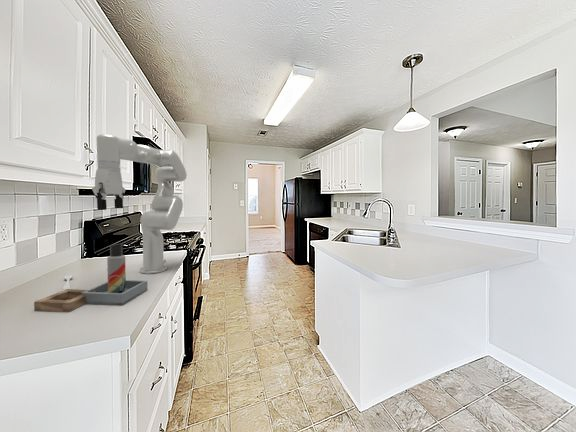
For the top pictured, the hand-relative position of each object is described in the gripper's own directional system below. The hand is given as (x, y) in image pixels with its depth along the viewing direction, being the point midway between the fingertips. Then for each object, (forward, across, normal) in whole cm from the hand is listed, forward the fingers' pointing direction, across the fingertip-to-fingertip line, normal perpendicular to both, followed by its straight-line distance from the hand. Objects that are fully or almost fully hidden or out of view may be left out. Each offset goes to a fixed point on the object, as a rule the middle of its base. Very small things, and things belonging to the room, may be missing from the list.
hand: (110, 208), depth 101 cm
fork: (+34, -6, -25) cm, 43 cm away
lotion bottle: (+33, +8, +7) cm, 35 cm away
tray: (+34, +8, +7) cm, 35 cm away
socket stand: (+33, +16, -6) cm, 37 cm away
